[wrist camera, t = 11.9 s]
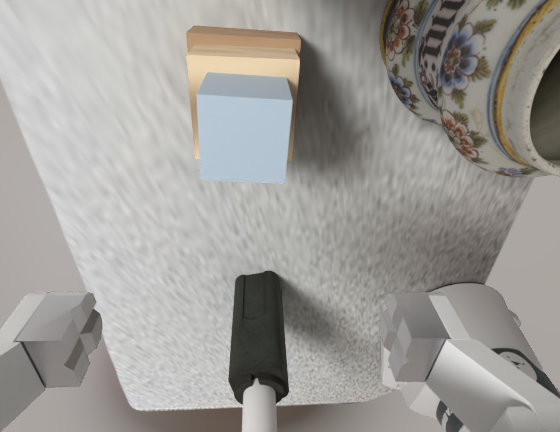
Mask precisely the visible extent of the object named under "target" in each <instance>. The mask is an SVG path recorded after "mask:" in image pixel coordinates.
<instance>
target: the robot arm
mask: <svg viewBox="0 0 560 432" xmlns="http://www.w3.org/2000/svg"><path fill="white" fill-rule="evenodd" d="M95 304H96V300H95V297H94V295H93V293H89V292H55V291H52V292H42V291H41V292H39V291H32V292H30V293H28V294H26V295H25V297H24V298H23V299H22V301H21V302H20V303H19V305H18V306H17V308H16V309H15V310H14V312H13V313H12V314H11V316H10V317H9V319H8V320H7V321H6V322H5V324H4V325H3V326H2V328H1V329H0V432H1V431H2V430H3V429H4V428H5V427H6V426H8V425H9V424H10V423H11V422H12V421H13V420H14V419H15V418H16V417H17V416H18V415H19V414H20V413H21V412H22V411H23V410H25V409H26V408H27V407H28V406H29V405H30V404H31V403H32V402H33V401H34V400H35V399H36V398H37V397H38V396H39V395H40V394H41V393H42V392H44V391H45V388H53V387H77V386H80V385H81V383H82V380H83V378H84V376H85V374H86V372H87V369H88V367H89V365H90V362H89V359H88V355H89V354H90V353H91V352H93V351H94V350H95V349H96V348H97V346H98V344H99V341H100V339H101V333H102V319H101V315H100V313H99V312H97V311H96V310H95V309H93V308H94V306H95ZM385 304H386V307H387V309H386V310H385V311H384V312H382V313H381V317H380V323H379V331H380V337H381V381H382V383H383V384H384V385H385V386H387V387H390V388H394V389H398V390H401V391H402V394H403V396H404V399H405V401H406V403H407V405H408V407H409V408H410V409H411V410H412V411H414V412H416V413H419V414H421V415H424V416H427V417H430V418H433V419H435V420H438V421H439V423H440V424H441V426H442V428H443V429H444V431H445V432H560V392H559V390H558V389H557V388H555V386H554V385H553V384H552V382H551V381H550V379H549V378H548V377H547V375H546V374H545V373H544V372H543V369H542V366H541V364H540V363H539V361H538V359H537V357H536V356H535V354H534V352H533V350H532V349H531V347H530V345H529V344H528V342H527V340H526V339H525V337H524V335H523V333H522V332H521V330H520V329H519V326H520V324H521V323H520V320H519V319H518V317H517V315H516V314H514V313H513V312H511V311H510V310H508V308H507V306H506V304H505V301H504V299H503V297H502V296H501V294H500V293H499V292H497V291H496V290H495V289H493V288H491V287H489V286H486V285H482V284H475V283H462V284H454V285H449V286H445V287H442V288H439V289H436V290H434V291H431V292H424V293H422V292H412V293H389V294H388V295H387V297H386V300H385Z"/></svg>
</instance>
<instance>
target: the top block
mask: <svg viewBox="0 0 560 432" xmlns="http://www.w3.org/2000/svg"><path fill="white" fill-rule="evenodd" d="M186 57H187V68H188V80H189V92H190V104H191V116H192V127H193V139H194V151H195V160H200V158H199V138H198V117H197V97H196V94H197V92H198V90H199V88H200V86H201V84H202V82H203V80H204V78H205V76H206V74H207V72H213V73H228V74H243V75H257V76H272V77H286V78H287V82H288V85H289V89H290V92H291V96H292V99H293V103H292V114H291V124H290V134H289V145H288V155H287V162H292V158H293V145H294V132H295V119H296V106H297V93H298V80H299V67H300V59H299V57H298V55H297V53H296V51H295V49H292V48H271V47H249V46H228V45H207V44H195V45H194V46H193V47H192V49H191V50H190V51H189V52H188V53H187V55H186Z"/></svg>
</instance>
